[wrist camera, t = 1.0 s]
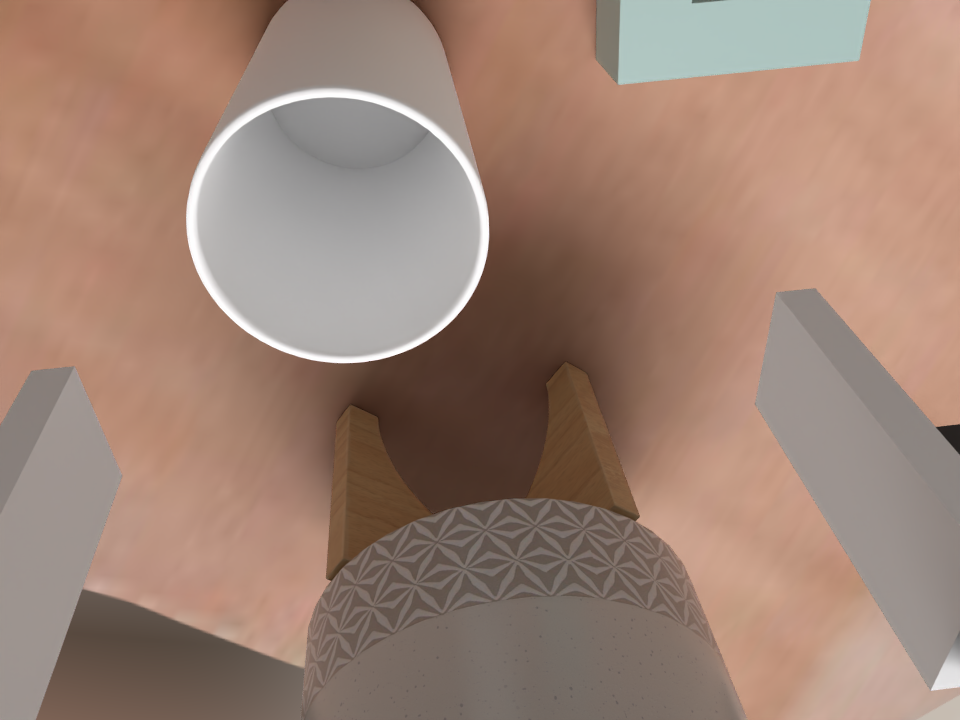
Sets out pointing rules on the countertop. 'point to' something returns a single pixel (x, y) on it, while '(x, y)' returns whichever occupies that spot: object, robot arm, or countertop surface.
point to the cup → (341, 186)
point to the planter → (507, 594)
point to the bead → (724, 36)
